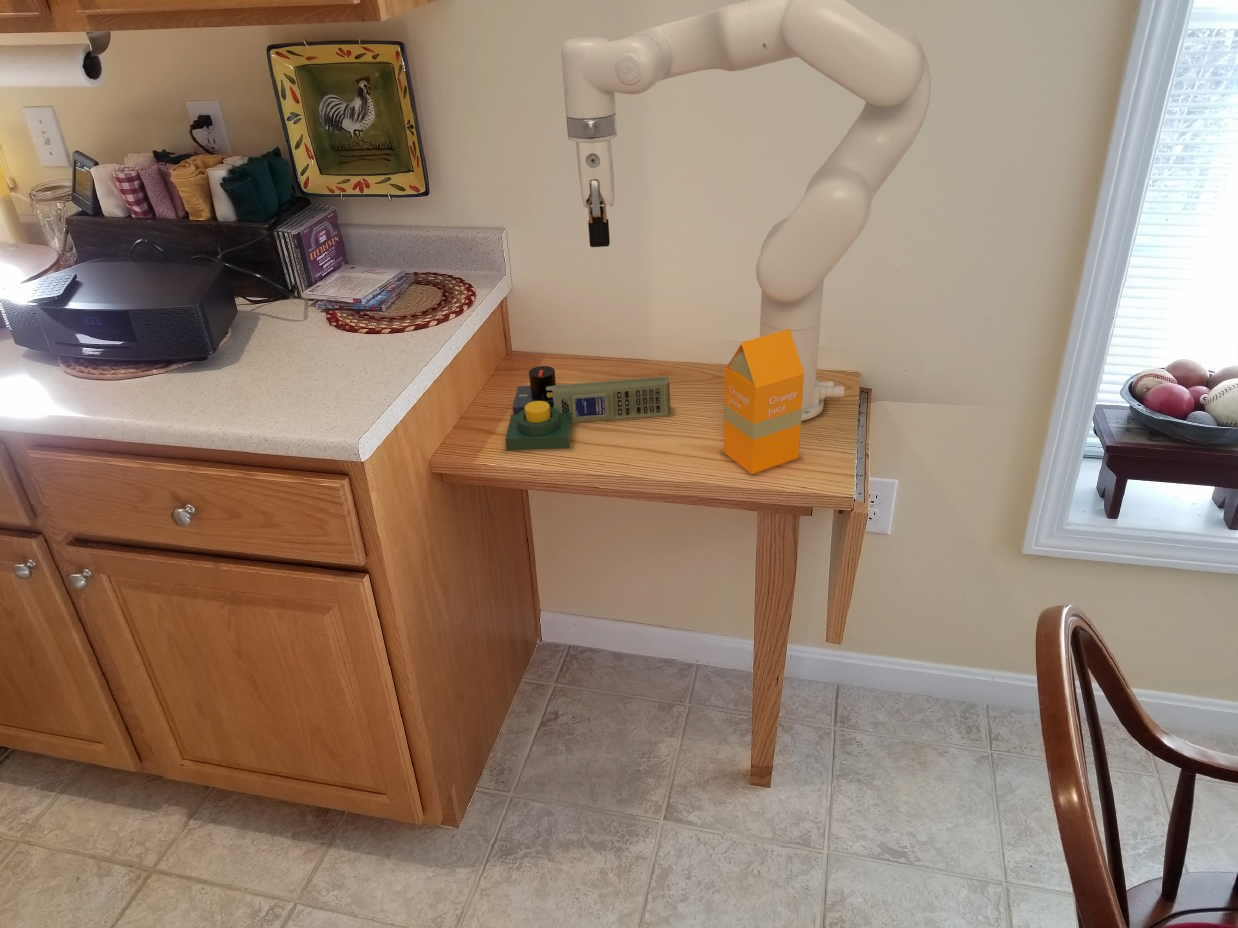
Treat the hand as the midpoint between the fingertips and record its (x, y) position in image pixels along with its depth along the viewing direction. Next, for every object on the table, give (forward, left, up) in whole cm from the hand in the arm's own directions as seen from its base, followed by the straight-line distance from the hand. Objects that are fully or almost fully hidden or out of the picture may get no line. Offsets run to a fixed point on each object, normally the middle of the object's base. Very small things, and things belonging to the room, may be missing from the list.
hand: (599, 245), depth 147 cm
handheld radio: (+2, +9, -27) cm, 29 cm away
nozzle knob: (+11, +5, -24) cm, 27 cm away
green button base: (+11, +15, -27) cm, 33 cm away
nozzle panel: (+11, +5, -27) cm, 29 cm away
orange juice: (-24, +23, -27) cm, 43 cm away
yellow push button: (+11, +15, -23) cm, 30 cm away
